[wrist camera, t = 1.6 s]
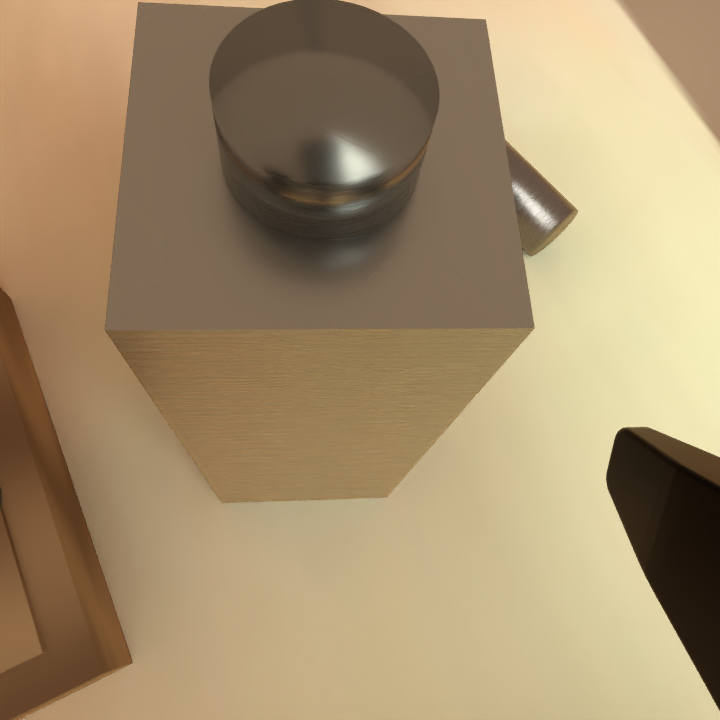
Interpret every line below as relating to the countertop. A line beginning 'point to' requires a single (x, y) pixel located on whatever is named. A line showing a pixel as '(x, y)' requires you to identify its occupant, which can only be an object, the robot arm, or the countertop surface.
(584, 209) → the countertop surface
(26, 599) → the stand
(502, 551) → the countertop surface
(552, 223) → the loose bolt
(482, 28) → the housing
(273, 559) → the countertop surface
